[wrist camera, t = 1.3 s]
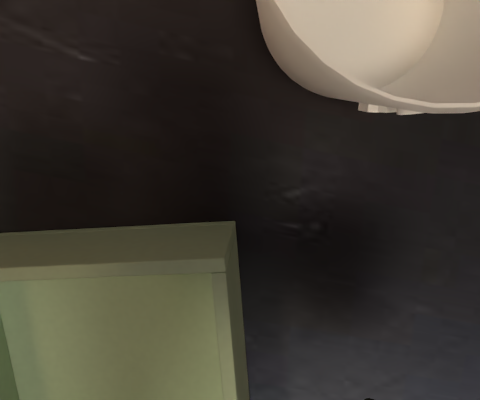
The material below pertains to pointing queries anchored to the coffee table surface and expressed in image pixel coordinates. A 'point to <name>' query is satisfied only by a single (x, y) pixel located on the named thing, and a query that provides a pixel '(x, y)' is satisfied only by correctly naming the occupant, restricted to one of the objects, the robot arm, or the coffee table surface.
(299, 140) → the coffee table surface
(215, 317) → the open storage box
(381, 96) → the mug
